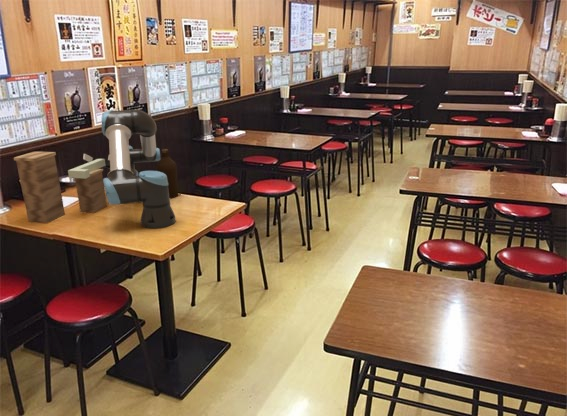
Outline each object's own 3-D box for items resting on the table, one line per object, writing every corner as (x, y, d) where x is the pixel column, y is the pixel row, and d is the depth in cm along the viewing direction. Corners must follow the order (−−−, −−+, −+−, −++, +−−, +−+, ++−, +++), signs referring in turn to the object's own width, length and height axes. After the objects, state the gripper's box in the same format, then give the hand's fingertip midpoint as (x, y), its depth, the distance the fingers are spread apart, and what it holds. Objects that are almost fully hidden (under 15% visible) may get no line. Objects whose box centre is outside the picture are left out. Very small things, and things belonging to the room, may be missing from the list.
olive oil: (176, 191, 251) (172, 146, 243) (181, 197, 242) (177, 150, 234) (157, 194, 247) (152, 148, 239) (161, 200, 238) (156, 152, 230)
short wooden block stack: (108, 205, 230) (103, 168, 224) (95, 213, 220) (89, 174, 214) (92, 204, 232) (86, 168, 226) (78, 212, 222) (72, 173, 215)
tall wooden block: (66, 214, 219) (55, 152, 209) (48, 223, 207) (35, 158, 197) (46, 212, 221) (34, 151, 212) (26, 222, 209) (13, 157, 200)
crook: (99, 165, 231) (98, 158, 230) (114, 165, 230) (113, 159, 228) (69, 177, 209) (67, 170, 208) (85, 178, 207) (84, 171, 206)
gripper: (139, 176, 243) (118, 165, 223) (96, 174, 248) (72, 163, 228) (141, 162, 245) (120, 150, 224) (99, 161, 250) (75, 148, 229)
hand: (96, 156), depth 226 cm, fingers open, 13 cm apart
